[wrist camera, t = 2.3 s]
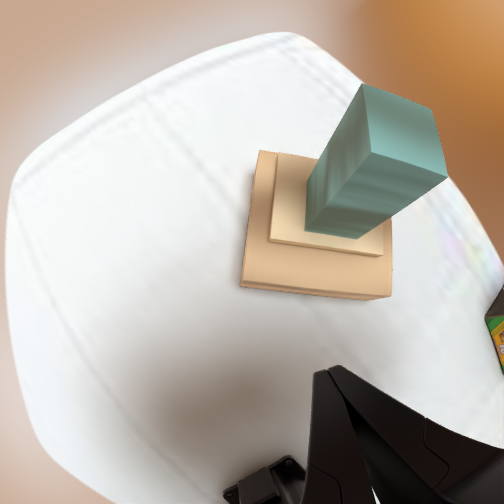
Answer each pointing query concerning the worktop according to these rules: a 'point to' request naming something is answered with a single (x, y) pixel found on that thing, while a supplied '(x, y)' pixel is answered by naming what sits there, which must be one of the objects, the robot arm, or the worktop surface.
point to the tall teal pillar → (358, 176)
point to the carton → (307, 254)
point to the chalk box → (497, 324)
